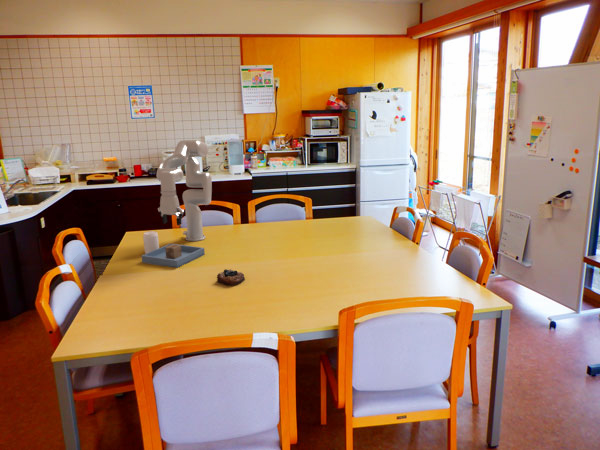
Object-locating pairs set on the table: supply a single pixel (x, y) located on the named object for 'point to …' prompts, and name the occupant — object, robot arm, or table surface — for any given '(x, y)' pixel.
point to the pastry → (230, 277)
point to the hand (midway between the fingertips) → (172, 223)
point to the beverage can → (150, 241)
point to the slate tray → (160, 259)
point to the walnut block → (173, 251)
